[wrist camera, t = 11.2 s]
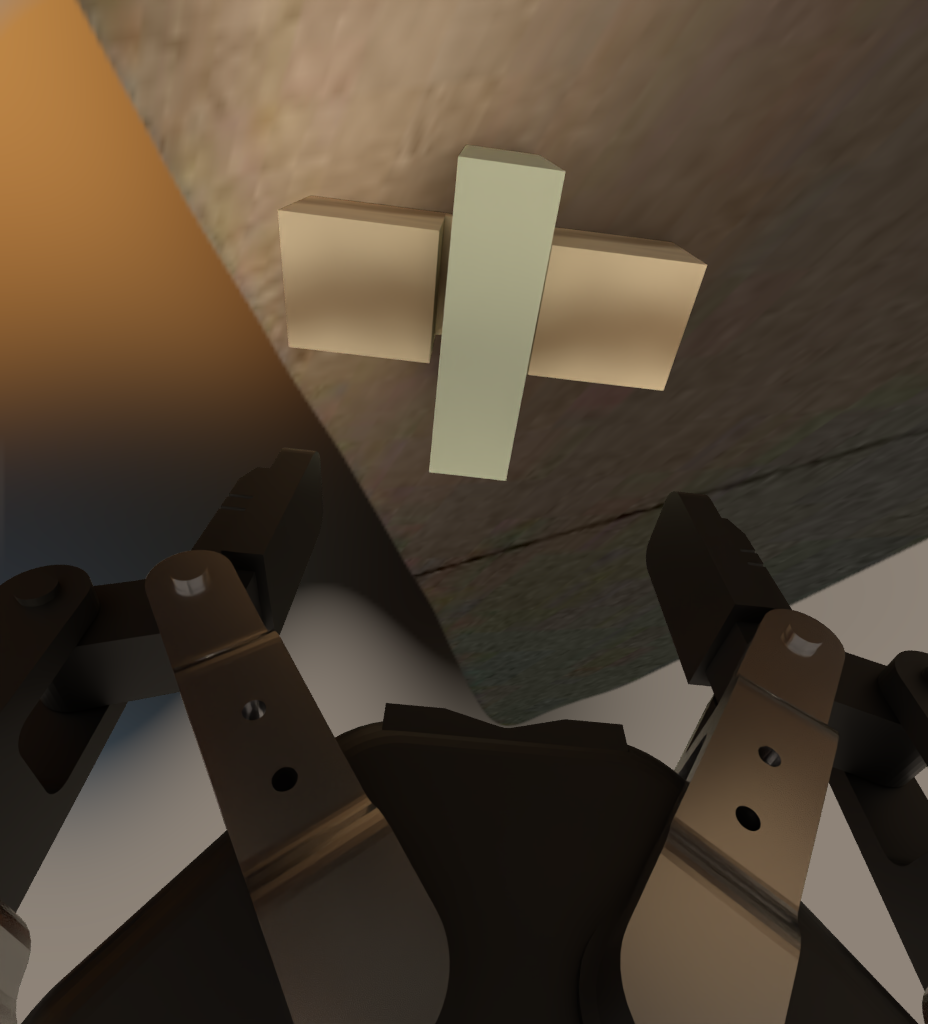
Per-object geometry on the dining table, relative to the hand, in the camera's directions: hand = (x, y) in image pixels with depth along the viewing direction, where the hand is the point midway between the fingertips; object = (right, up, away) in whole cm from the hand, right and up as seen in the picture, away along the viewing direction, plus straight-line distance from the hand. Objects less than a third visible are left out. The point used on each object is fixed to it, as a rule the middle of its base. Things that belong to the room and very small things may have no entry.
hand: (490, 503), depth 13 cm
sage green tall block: (+1, +12, +16) cm, 21 cm away
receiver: (+1, +13, +17) cm, 22 cm away
